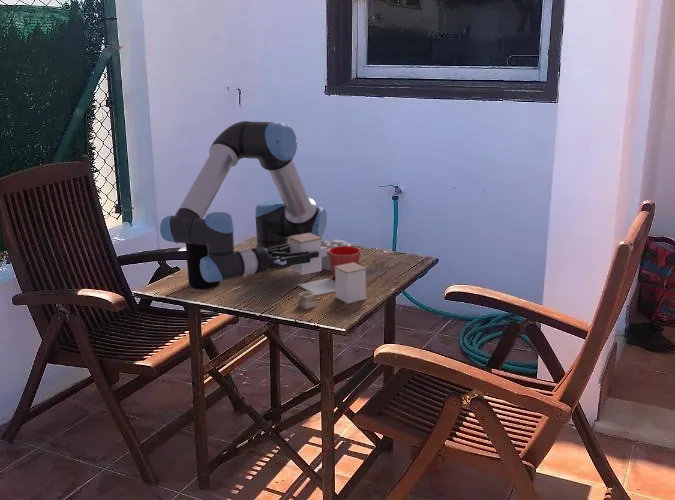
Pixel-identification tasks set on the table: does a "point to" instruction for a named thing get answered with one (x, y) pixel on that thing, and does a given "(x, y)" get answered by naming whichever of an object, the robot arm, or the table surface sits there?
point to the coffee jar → (197, 266)
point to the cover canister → (302, 245)
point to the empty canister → (350, 282)
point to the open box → (307, 300)
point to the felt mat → (320, 286)
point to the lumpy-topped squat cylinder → (331, 244)
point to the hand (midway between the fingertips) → (319, 248)
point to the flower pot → (343, 256)
